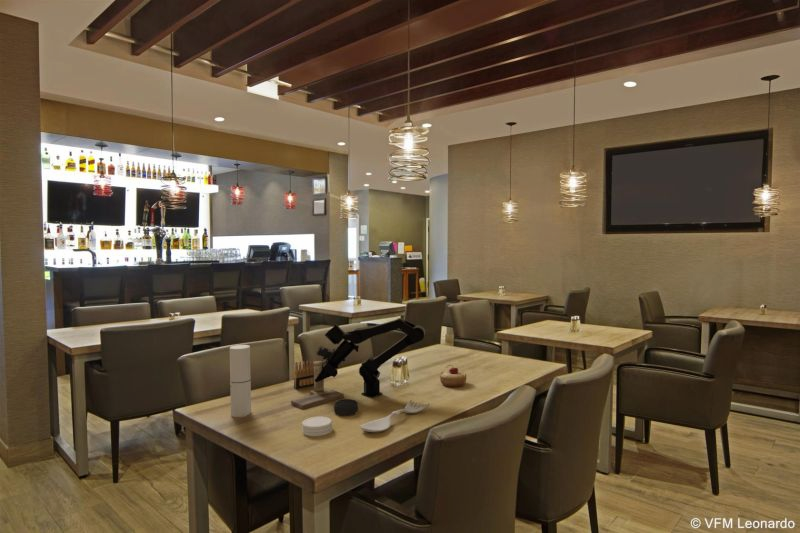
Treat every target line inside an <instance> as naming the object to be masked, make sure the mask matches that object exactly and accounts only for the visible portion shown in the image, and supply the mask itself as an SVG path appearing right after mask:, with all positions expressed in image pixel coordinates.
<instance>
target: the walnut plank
mask: <svg viewBox="0 0 800 533" xmlns="http://www.w3.org/2000/svg"><path fill="white" fill-rule="evenodd" d="M344 395H345V394H344V393H343V392H340V391H338V390H334V389H330V390H328V391H326V392H322V393H318V394H315V395H308V396H304V397H300V398H297V399H292V400H291V401H290V405H291V406H293V407H296V408H297V409H301V410H305V409H308V408H311V407H312V408H313V407H315V406H318V405H322V404H326V403H328V402H332V401H337V400H341V399H344Z"/></svg>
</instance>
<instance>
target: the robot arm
mask: <svg viewBox="0 0 800 533" xmlns="http://www.w3.org/2000/svg"><path fill="white" fill-rule="evenodd" d="M396 330H400V331H401V332H403V333H404V334H406V335H404V337H402V338H401V339H400V340H399V341H397V342H396V343H394V344H393V345H391V346H390V347H389V348H387V349H385V351H383V352H381V353H380V354H379V355H377V356H375V357H373V355H369V357H368V358H367V359H363V361H362V363H361V365H360V366H359V368H358V374H359V376H360V377H361V378H362V379H363V392H361V393H360V394H361V395H362V396H365V397H368V398H375V397H378V396H382V395H383V392H381V391H380V390H381V387H380V384H381V382H380V379H379V377H380V375H381V372H380V371H379V370H378V369H379V368H380V367H381V366H382V365H383V364H384V363H386V362H388V361H389V360H390V359H392V358H394V357H395V356H396V355H398V354H399V353H400V352H402V351H403V350H404V349H407V347H410V346H412V345H414V344H417V343H419V342H422V341H423V340H424V338H425V334H426V329H425V328H424V326H422V325H420V324H417V325H416V324H414V323H413V322H411V321H410V322H409V321H407V320H406V319H404V318H401V317H398V318H397V319H396V318H395V319H393V320H390V321H387V322H384V323H379V324H377V325H373V326H365V327H357V328H354V329H353V330H351V331H347V332H345V331H344V330H343V329H342V328H341V327H340V326H339V325H338V323H336V324H334V325H333V327H331V328H330V329H329V330H327V332H326V333H325V334H324V336H325V337H326V338H327V339H328V340H329V341H330V342H331V343H332V344H333V345H338V346H337V347H336V348H333V349H332V350H331V349H329V348H326V347H324V346H322V345H319V347H318V348H317V351H316V356H319V357H322V360H321V361H324V365H322V371H321V372H320V373H319V375H318V376H317V378H316V379H315V382H319V381H321V380H323V379H324V380H325V379H328V378H330V377H333V378H335V377H336V376H337V375H338V368H339V366H340V365H341V364H343V363H344V362H345V361H346V359H347V358H348V357H349V356H350V355H351V354H352V353H353V351H355V352H356V353H358V352H360V345H359V344H361V343H363V342H365V341H367V340H368V339H370V338H372V337H375V336H378V335H379V336H380V335H381V334H385V333H389V332H392V331H396Z"/></svg>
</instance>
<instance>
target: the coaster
mask: <svg viewBox="0 0 800 533" xmlns="http://www.w3.org/2000/svg"><path fill="white" fill-rule="evenodd" d="M301 428H302V430H301V432H302V434H303V435H304V436H307V437H323V436H327V435H329V434H331V433H332V432H333V420H332V419H331V418H329V417H327V416H312V417H308V418H306V419H304V420H303V421H302V423H301Z"/></svg>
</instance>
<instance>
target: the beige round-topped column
mask: <svg viewBox="0 0 800 533" xmlns="http://www.w3.org/2000/svg"><path fill="white" fill-rule="evenodd" d="M313 365H314V386H313V390H310V391H309V396H311V395H315V394H318V393H322V392H326V391H329V390H328V389H325V387H324V385H325V383H324V382H325V381H324V380H325V379H323V380H321V381H319V382H315V379H316V378H317V376H318V375H319V373H320V372H321V371H322V365H324V360H323V361H322V360H315V362H313V361H312V366H313Z"/></svg>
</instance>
